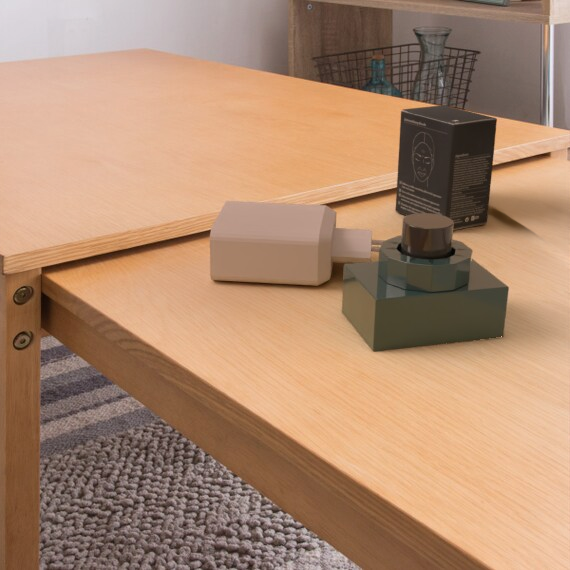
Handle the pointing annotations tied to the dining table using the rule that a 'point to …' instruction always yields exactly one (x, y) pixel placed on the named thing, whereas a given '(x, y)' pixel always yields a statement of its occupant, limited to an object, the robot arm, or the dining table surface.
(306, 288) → the dining table surface
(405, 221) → the brown push button
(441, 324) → the base
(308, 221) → the charger
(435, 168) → the box
